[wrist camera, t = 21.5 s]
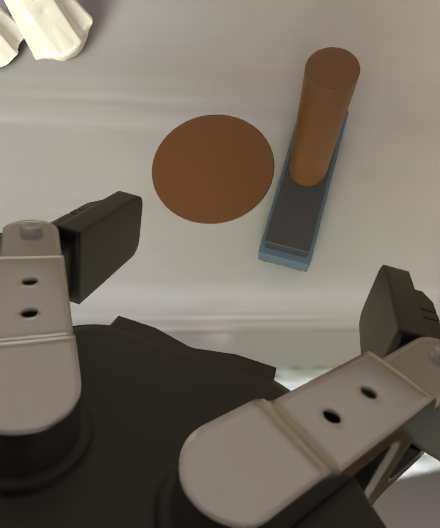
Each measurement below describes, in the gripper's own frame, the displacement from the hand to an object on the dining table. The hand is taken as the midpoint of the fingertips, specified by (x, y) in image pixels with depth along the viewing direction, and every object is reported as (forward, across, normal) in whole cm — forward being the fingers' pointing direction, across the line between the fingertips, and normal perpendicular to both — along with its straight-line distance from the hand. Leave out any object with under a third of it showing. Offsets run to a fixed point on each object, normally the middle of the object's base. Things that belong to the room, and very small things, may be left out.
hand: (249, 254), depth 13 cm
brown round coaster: (+20, +7, +3) cm, 21 cm away
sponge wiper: (+20, -1, +3) cm, 20 cm away
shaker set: (+25, +26, -2) cm, 37 cm away
